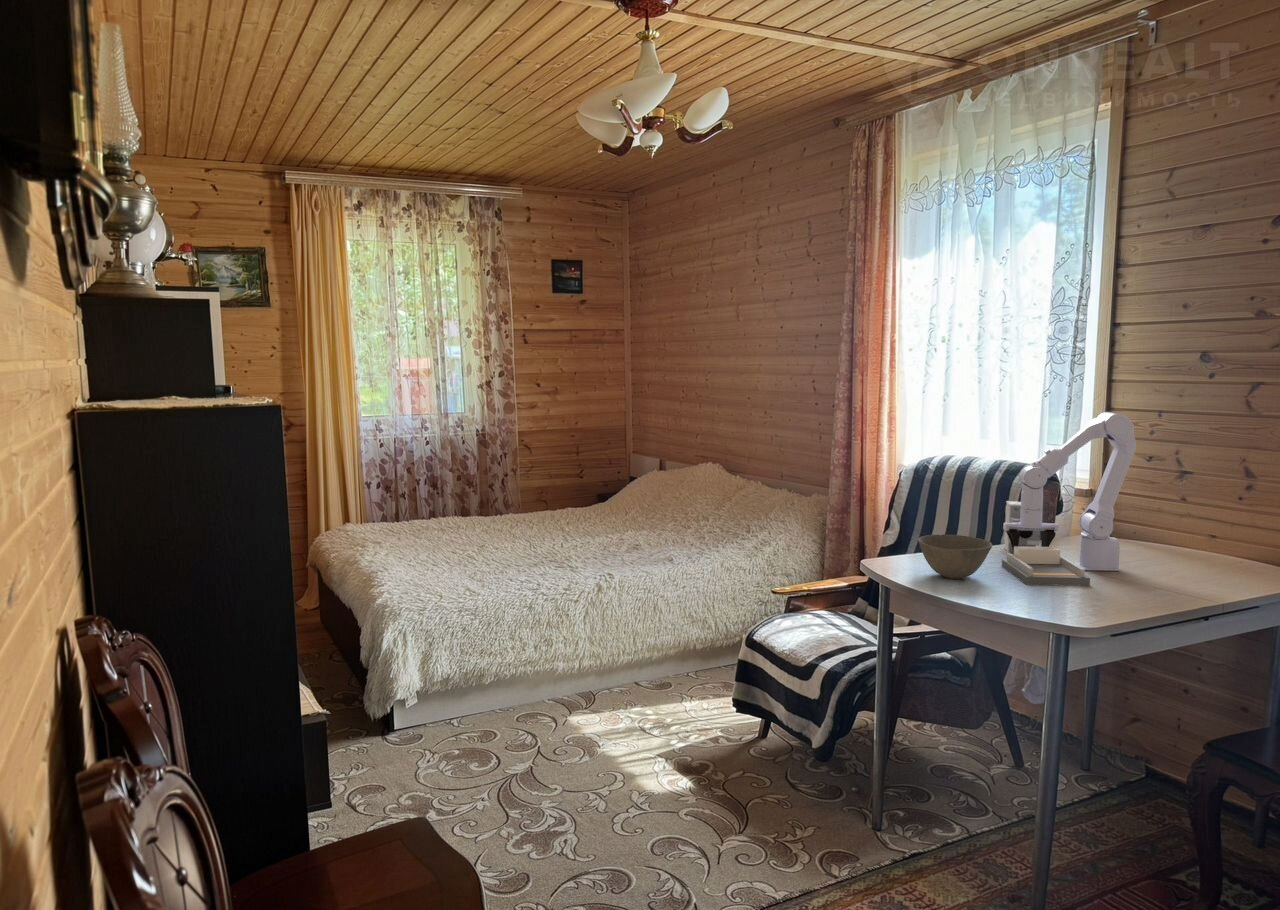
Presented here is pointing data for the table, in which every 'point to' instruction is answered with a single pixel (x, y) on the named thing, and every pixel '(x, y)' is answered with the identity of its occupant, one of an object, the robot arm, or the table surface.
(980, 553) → the bowl
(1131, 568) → the table surface
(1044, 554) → the breaker toggle
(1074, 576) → the grey shallow rectangular tray
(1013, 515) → the circuit breaker
